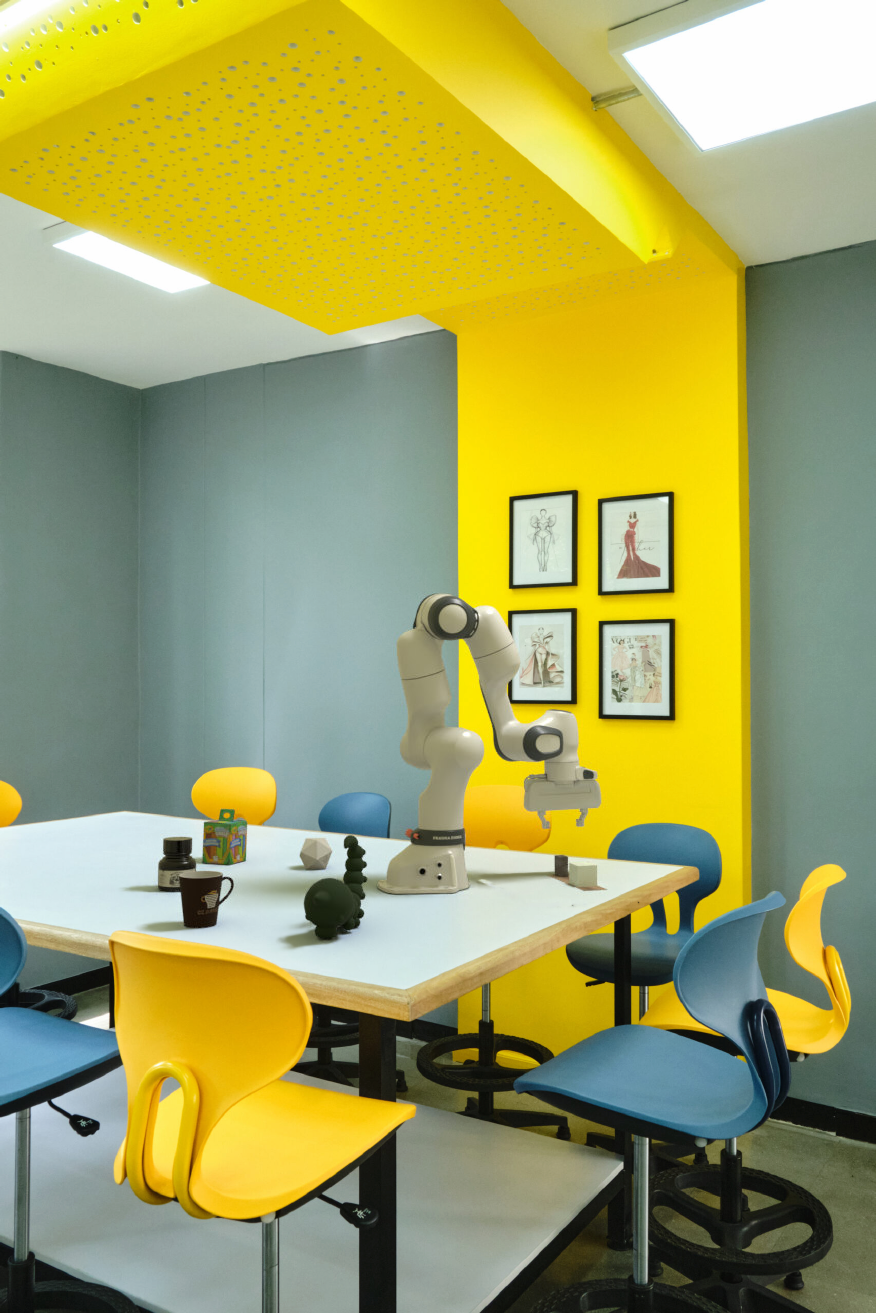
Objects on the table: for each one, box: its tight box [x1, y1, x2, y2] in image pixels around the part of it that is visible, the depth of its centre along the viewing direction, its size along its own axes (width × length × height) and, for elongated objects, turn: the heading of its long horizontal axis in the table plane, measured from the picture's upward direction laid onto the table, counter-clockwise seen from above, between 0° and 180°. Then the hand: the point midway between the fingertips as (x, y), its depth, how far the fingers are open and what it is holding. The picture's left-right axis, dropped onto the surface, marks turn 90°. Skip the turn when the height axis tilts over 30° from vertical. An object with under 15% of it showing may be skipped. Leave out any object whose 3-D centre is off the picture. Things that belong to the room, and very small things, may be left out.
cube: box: [568, 861, 598, 888], centre depth 235 cm, size 5×5×5 cm
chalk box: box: [201, 808, 248, 866], centre depth 274 cm, size 9×9×15 cm
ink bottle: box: [157, 836, 197, 892], centre depth 234 cm, size 10×9×12 cm
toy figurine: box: [303, 834, 368, 940], centre depth 190 cm, size 9×19×25 cm
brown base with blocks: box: [547, 854, 608, 892], centre depth 238 cm, size 6×22×6 cm, turn 16°
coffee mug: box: [179, 870, 235, 929], centre depth 196 cm, size 12×9×10 cm
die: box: [299, 837, 333, 870], centre depth 264 cm, size 8×9×10 cm
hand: (563, 827), depth 248 cm, fingers open, 8 cm apart
